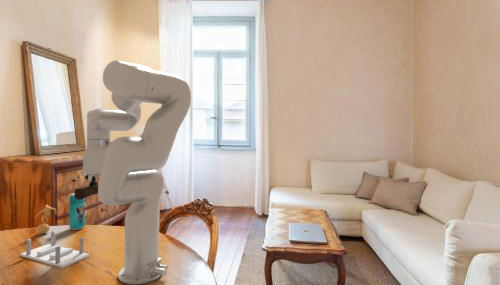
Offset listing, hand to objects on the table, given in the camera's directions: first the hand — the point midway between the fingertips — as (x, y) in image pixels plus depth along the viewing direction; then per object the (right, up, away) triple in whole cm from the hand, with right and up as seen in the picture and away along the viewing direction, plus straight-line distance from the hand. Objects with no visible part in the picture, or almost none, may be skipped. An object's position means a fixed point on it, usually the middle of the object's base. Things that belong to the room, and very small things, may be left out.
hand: (98, 193), depth 104 cm
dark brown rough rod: (-1, -1, 0) cm, 1 cm away
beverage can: (-18, -18, +16) cm, 30 cm away
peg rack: (-9, -19, -10) cm, 23 cm away
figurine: (-26, -18, +9) cm, 33 cm away
